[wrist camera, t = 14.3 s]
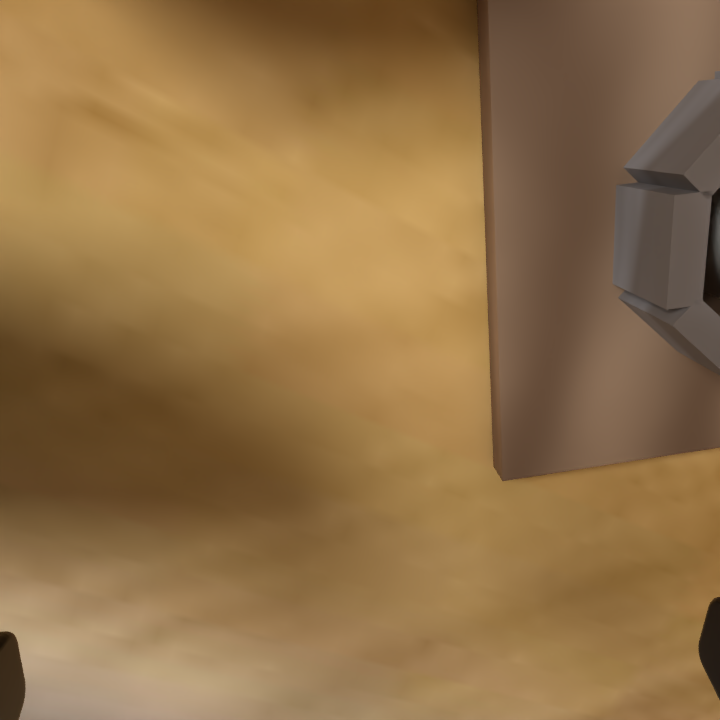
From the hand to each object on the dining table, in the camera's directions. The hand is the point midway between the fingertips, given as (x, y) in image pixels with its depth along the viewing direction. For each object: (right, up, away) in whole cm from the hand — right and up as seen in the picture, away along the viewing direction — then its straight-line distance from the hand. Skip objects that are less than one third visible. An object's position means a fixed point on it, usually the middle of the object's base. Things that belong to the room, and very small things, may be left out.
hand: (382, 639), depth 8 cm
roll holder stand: (+12, +8, +12) cm, 19 cm away
